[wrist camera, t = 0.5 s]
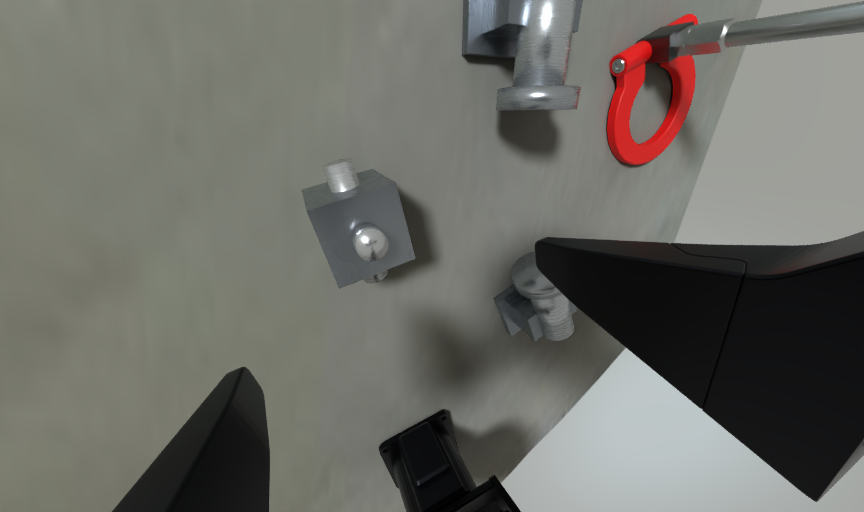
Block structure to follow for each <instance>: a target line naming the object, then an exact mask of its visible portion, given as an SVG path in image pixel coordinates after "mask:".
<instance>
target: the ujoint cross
mask: <svg viewBox="0 0 864 512" xmlns="http://www.w3.org/2000/svg"><path fill="white" fill-rule="evenodd" d="M322 168H323V171H324V173H325V176H326V179H327V181H328V182H326V183H323V184H320V185H316V186H313V187H310V188H306V189H303V190H302V193H303V198H304V202H305V206H306V210H307V213H308V215H309V218H310V220H311V223H312V225H313V227H314V230H315V232H316V234H317V237H318V239H319V242H320V244H321V246H322V249H323V251H324V253H325V256H326V258H327V261H328V263H329V265H330V268H331V270H332V273H333V275H334V277H335V280H336V282H337V284H338V287H339V288H342V287H345V286H347V285H350V284H352V283H355V282H357V281H360V280H362V279H364V281H365V282H366V283H375V282H378V281H381V280H383V279H384V278H385V277H386V276H387V274H388V272H387V270H388V269H391V268H393V267H396V266H398V265H401V264H403V263H406V262H408V261H411V260H414V259H416V258H415V254H414V251H413V247H412V243H411V239H410V235H409V231H408V227H407V224H406V220H405V216H404V212H403V208H402V204H401V201H400V197H399V193H398V189H397V185H396V183H395V182H394V181H392V180H390V179H389V178H387V177H385V176H384V175H382V174H380V173H379V172H377V171H375V170H373V169H370V170H367V171H364V172H360V173H357V174H356V171H355V168H354V165H353V162H352V159H350V158H348V159H341V160H337V161H333V162H330V163H328V164H325V165H323V166H322Z"/></svg>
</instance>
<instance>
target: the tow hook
mask: <svg viewBox="0 0 864 512" xmlns="http://www.w3.org/2000/svg"><path fill="white" fill-rule="evenodd" d="M859 32H864V1H862V2H856V3H850V4H844V5H838V6H831V7H826V8H820V9H813V10H807V11H801V12H795V13H789V14H783V15H777V16H771V17H765V18H758V19H752V20H746V21H740V22H737V21H736V19H734V18H732V19H726V20H720V21H714V22H709V23H703V24H700V25H698V20H697V18H696V16H694V15H693V14H687V15H684V16H683V17H681V18H679V19H678V20H676V21H674V22H672V23H671V24H669V25H667V26H665V27H661V28H659V29H657V30H656V31H654V32H652V33H651V34H649V35H647V36H645V37H644V38H642V39H640V40H639V41H637V43H636V44H635V45H633V46H631V47H629V48H628V49H626V50H624V51H623V52H621V53H619V54H617V55H616V56H614V57H613V58H612V59H611V61H610V71H611V73H612V74H613V75H614V76H616V79H617V88H616V91H615V93H614V95H613V98H612V102H611V106H610V109H609V114H608V123H607V134H608V143H609V146H610V148H611V151H612V153H613V154H614V156H615V157H616V158H617V159H618V160H620V161H622V162H624V163H627V164H632V165H636V164H644V163H646V162H649V161H651V160H653V159H654V158H655V157H657V156H658V155H659V154H661V153H662V152H663V151H664V150H665V149H666V147H667V146H668V145H669V144H670V143H671V142H672V140H673V139H674V138H675V136H676V135H677V133H678V132H679V130H680V128H681V126H682V124H683V122H684V120H685V118H686V116H687V113H688V111H689V108H690V105H691V102H692V97H693V93H694V89H695V66H694V60H693V58H692V55H700V54H710V53H719V52H723V51H725V50H726V49H728V48H729V47H734V46H743V45H752V44H761V43H770V42H779V41H788V40H797V39H806V38H815V37H823V36H832V35H842V34H850V33H859ZM650 63H660V66H661V67H663V68H665V69H666V70H667V71H669V73H670V75H671V77H672V82H673V96H672V101H671V105H670V108H669V111H668V114H667V116H666V118H665V120H664V122H663V124H662V125H661V127H660V128H659V130H658V131H657V133H656V134H655V135H654V136H653V137H652V138H651V139H649V140H648V141H646V142H645V143H642V144H637V143H635V141H634V140H633V139H632V137H631V134H630V128H629V120H630V112H631V108H632V105H633V102H634V99H635V97H636V95H637V93H638V90H639V89H640V87H641V85H642V84H643V82H644V80H645V64H650Z"/></svg>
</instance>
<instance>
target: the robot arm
mask: <svg viewBox="0 0 864 512" xmlns="http://www.w3.org/2000/svg"><path fill="white" fill-rule="evenodd" d="M535 260H536V266H537V268H538V270H539V271H540V272H541V273H542V274H543V275H544V276H545V277H546V278H547V279H548V280H549V281H550V282H551V283H552V284H553V285H554V286H555V287H556V288H557V289H558V290H559V291H560V292H561V293H562V294H563V295H564V296H565V297H566V298H567V299H568V300H569V301H570V302H572V303H573V304H574V305H575V306H576V307H577V308H579V309H580V310H581V311H582V312H584V313H585V314H586V315H587V316H588V317H590V318H591V319H592V320H593V321H595V322H596V323H597V324H598V325H599V326H601V327H602V328H603V329H604V330H605V331H607V332H608V333H609V334H610V335H612V336H613V337H614V338H615V339H616V340H618V341H619V342H620V343H621V344H623V345H624V346H625V347H626V348H628V349H629V350H630V351H631V352H632V353H633V354H635V355H636V356H637V357H639V358H640V359H641V360H642V361H643V362H644V363H646V364H647V365H648V366H650V367H651V368H652V369H653V370H654V371H655V372H657V373H658V374H659V375H660V376H662V377H663V378H664V379H665V380H666V381H668V382H669V383H670V384H671V385H672V386H674V387H675V388H676V389H677V390H679V391H680V392H681V393H682V394H684V395H685V396H686V397H687V398H688V399H690V400H691V401H692V402H693V403H694V404H696V405H697V406H698V407H699V408H701V409H703V411H704V412H705V413H706V414H707V415H709V416H710V417H711V418H712V419H714V420H715V421H716V422H717V423H718V424H720V425H721V426H722V427H723V428H724V429H726V430H727V431H728V432H729V433H731V434H732V435H733V436H734V437H735V438H737V439H738V440H739V441H740V442H742V443H743V444H744V445H745V446H747V447H748V448H749V449H750V450H751V451H753V452H754V453H755V454H756V455H757V456H759V457H760V458H761V459H762V460H763V461H765V462H766V463H767V464H768V465H770V466H771V467H772V468H773V469H774V470H776V471H777V472H778V473H779V474H781V475H782V476H783V477H784V478H785V479H787V480H788V481H789V482H790V483H792V484H793V485H794V486H795V487H796V488H798V489H799V490H800V491H801V492H803V493H804V494H805V495H806V496H808V497H809V498H811V499H812V500H814V501H816V502H817V501H819V500H820V499H821V498H822V497H823V496H824V494H826V493H827V492H828V491H829V489H830V488H832V487H833V486H834V485H835V483H837V481H838V480H839V479H841V478H842V477H843V476H844V474H846V472H847V471H848V470H849V469H850V468H851V467H852V466H853V465H854V464H855V463H856V462H857V461H858V460H859V459H860V458H861V457H862V456H863V455H864V231H863V232H860V233H857V234H854V235H851V236H848V237H845V238H842V239H838V240H835V241H831V242H826V243H820V244H814V245H799V246H780V245H779V246H776V245H707V244H681V243H671V244H669V243H659V242H639V241H618V240H597V239H576V238H555V237H546V238H543V239H541V240H539V241H537V242H536V243H535ZM379 451H380V455H381V457H382V459H383V461H384V463H385V465H386V467H387V469H388V471H389V473H390V475H391V477H392V479H393V481H394V483H395V485H396V487H397V488H399V490H400V493H401V496H402V499H403V502H404V506H405V509H406V512H521V511H520V510H519V508H518V507H517V506H516V504H515V503H514V501H513V500H512V499H511V497H510V496H509V494H508V493H507V492H506V490H505V489H504V487H503V486H502V485H501V483H500V482H499V480H498V479H497V478H496V476H495V475H493V476H492V477H490V478H489V480H488V481H486V482H485V483H483V484H481V485H480V486H478V487H476V485H475V483H474V481H473V479H472V477H471V475H470V473H469V471H468V469H467V467H466V466H465V464H464V462H463V460H462V458H461V456H460V454H459V452H458V447H457V444H456V440H455V437H454V433H453V430H452V426H451V422H450V419H449V416H448V414H447V412H446V411H441V412H439V413H437V414H435V415H433V416H432V417H430V418H428V419H426V420H424V421H422V422H421V423H419V424H417V425H415V426H413V427H411V428H410V429H408V430H406V431H404V432H402V433H401V434H399V435H397V436H395V437H393V438H391V439H390V440H388V441H386V442H384V443H382V444H381V445H380V446H379ZM269 481H270V448H269V437H268V428H267V419H266V409H265V400H264V394H263V391H262V388H261V387H260V385H259V384H258V382H257V381H256V379H255V378H254V376H253V375H252V374H251V372H250V371H249V369H247V368H246V367H241V368H239V369H236V370H234V371H231V372H229V373H227V374H226V375H225V376H224V378H223V379H222V380H221V381H220V382H219V384H218V385H217V386H216V387H215V388H214V390H213V391H212V392H211V393H210V394H209V396H208V397H207V398H206V399H205V400H204V402H203V403H202V404H201V405H200V406H199V408H198V409H197V410H196V411H195V412H194V414H193V415H192V416H191V417H190V418H189V420H188V421H187V422H186V423H185V424H184V426H183V427H182V428H181V429H180V430H179V432H178V433H177V434H176V435H175V436H174V438H173V439H172V440H171V441H170V442H169V444H168V445H167V446H166V447H165V448H164V450H163V451H162V452H161V453H160V454H159V456H158V457H157V458H156V459H155V460H154V462H153V463H152V464H151V465H150V467H149V468H148V469H147V470H146V471H145V473H144V474H143V475H142V476H141V477H140V479H139V480H138V481H137V482H136V483H135V485H134V486H133V487H132V488H131V489H130V491H129V492H128V493H127V494H126V495H125V497H124V498H123V499H122V500H121V501H120V503H119V504H118V505H117V506H116V507H115V509H114V510H113V511H112V512H269Z"/></svg>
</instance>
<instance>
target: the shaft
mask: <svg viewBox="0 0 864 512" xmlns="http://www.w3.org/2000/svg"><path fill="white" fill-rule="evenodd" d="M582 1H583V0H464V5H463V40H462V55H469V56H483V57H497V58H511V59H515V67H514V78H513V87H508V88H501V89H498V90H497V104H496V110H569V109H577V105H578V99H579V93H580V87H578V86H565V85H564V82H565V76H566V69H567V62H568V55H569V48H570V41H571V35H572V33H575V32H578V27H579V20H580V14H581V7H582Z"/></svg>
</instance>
